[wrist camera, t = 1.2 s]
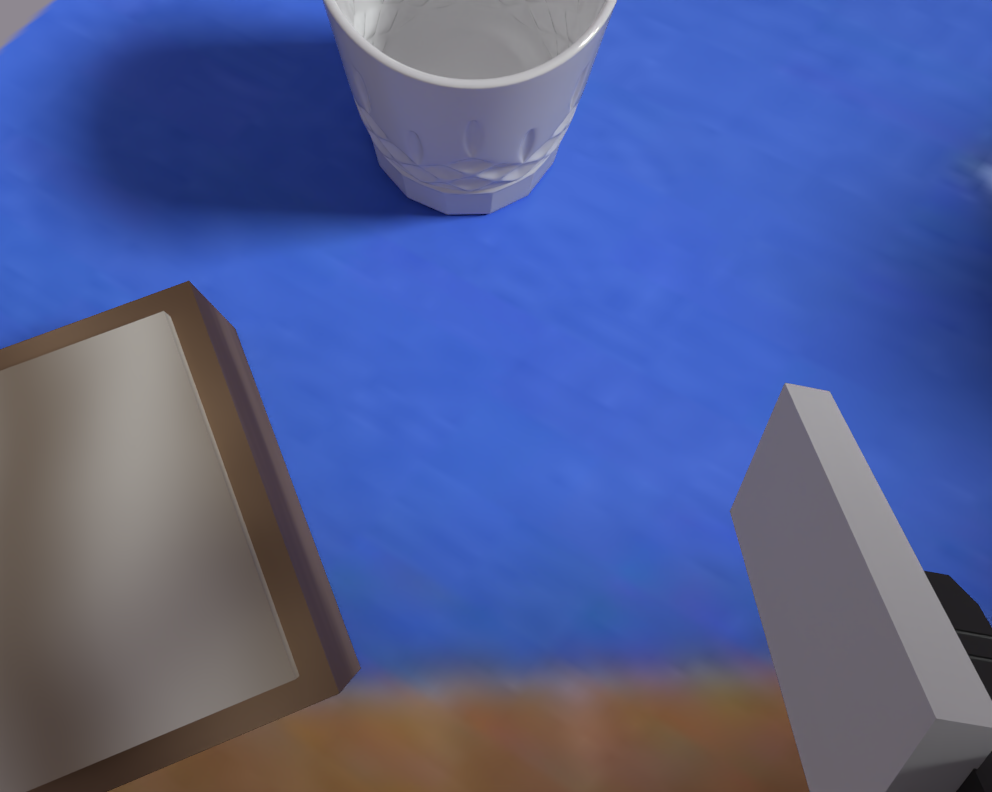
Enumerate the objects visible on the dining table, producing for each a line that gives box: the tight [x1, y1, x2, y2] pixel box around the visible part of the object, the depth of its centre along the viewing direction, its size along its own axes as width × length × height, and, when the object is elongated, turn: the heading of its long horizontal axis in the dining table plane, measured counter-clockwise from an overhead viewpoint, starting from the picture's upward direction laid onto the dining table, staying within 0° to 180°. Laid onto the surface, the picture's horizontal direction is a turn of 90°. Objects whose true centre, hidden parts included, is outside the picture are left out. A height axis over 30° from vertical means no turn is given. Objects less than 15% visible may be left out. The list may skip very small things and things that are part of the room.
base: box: [0, 281, 361, 792], centre depth 26 cm, size 12×12×6 cm
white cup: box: [323, 0, 617, 215], centre depth 27 cm, size 8×8×10 cm
